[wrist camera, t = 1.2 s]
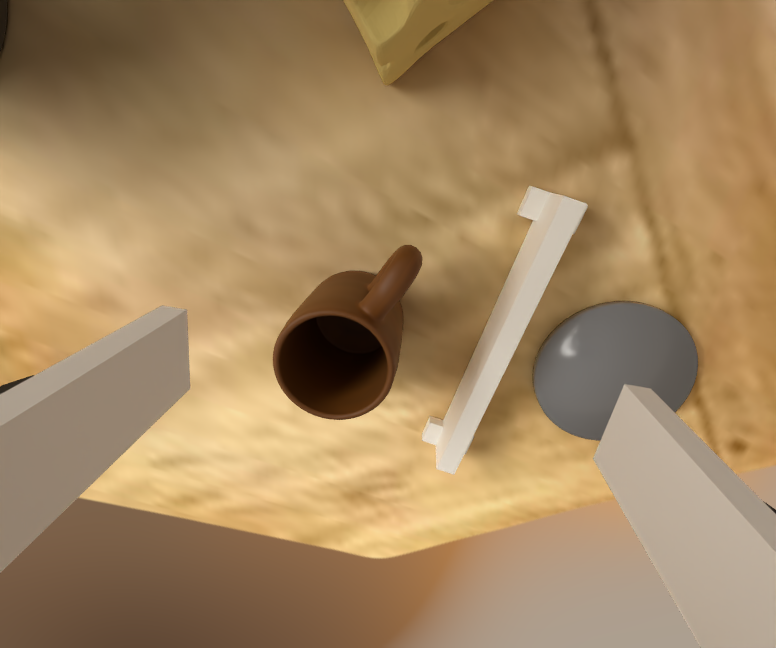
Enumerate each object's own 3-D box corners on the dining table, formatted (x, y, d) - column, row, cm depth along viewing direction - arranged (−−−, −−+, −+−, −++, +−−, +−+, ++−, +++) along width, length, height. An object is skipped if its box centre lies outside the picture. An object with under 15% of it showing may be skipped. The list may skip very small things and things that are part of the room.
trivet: (508, 409, 35) (510, 414, 34) (575, 279, 30) (579, 282, 30) (639, 451, 35) (644, 458, 35) (724, 330, 31) (732, 334, 30)
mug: (376, 198, 30) (355, 213, 21) (459, 260, 31) (473, 299, 22) (293, 322, 34) (247, 378, 25) (369, 373, 35) (350, 443, 26)
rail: (422, 433, 36) (421, 464, 33) (528, 185, 28) (544, 188, 25) (464, 447, 37) (468, 479, 33) (582, 204, 28) (606, 210, 25)
